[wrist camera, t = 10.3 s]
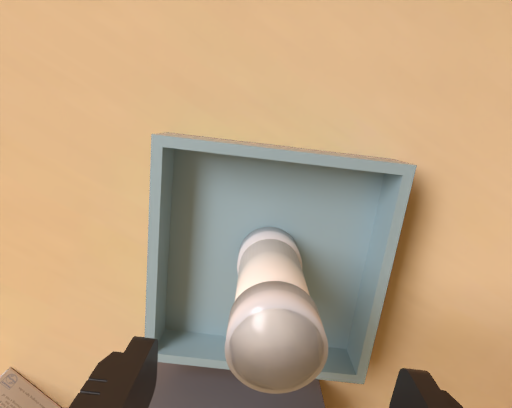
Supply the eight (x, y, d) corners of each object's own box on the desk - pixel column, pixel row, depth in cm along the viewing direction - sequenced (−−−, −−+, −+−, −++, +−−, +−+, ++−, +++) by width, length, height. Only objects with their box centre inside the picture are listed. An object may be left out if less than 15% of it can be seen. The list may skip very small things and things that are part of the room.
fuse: (242, 223, 20) (230, 299, 11) (303, 230, 20) (337, 311, 12) (235, 278, 21) (219, 387, 12) (293, 285, 21) (318, 398, 12)
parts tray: (168, 132, 19) (151, 134, 17) (393, 159, 20) (416, 165, 17) (158, 330, 23) (144, 360, 20) (351, 351, 23) (364, 384, 20)
